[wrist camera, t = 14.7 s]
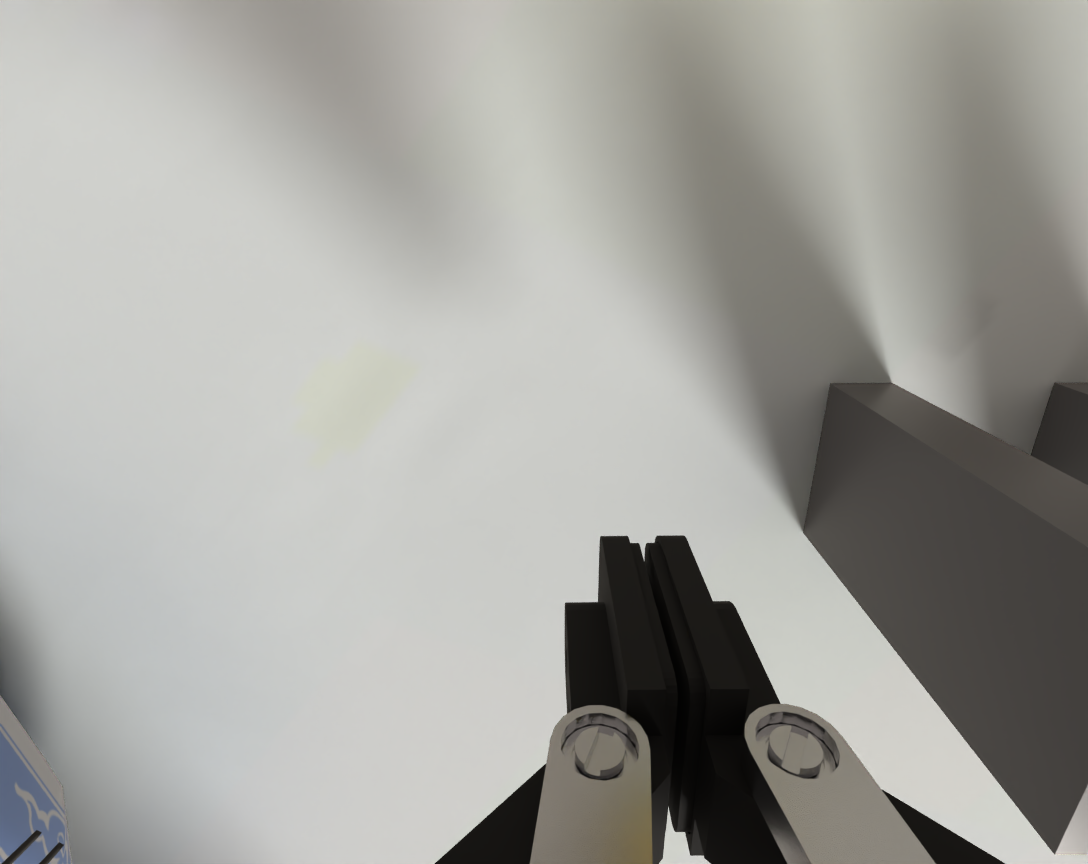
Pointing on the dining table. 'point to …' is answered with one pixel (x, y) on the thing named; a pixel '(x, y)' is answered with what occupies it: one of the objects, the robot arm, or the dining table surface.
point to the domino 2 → (1065, 431)
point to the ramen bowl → (29, 800)
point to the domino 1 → (968, 584)
